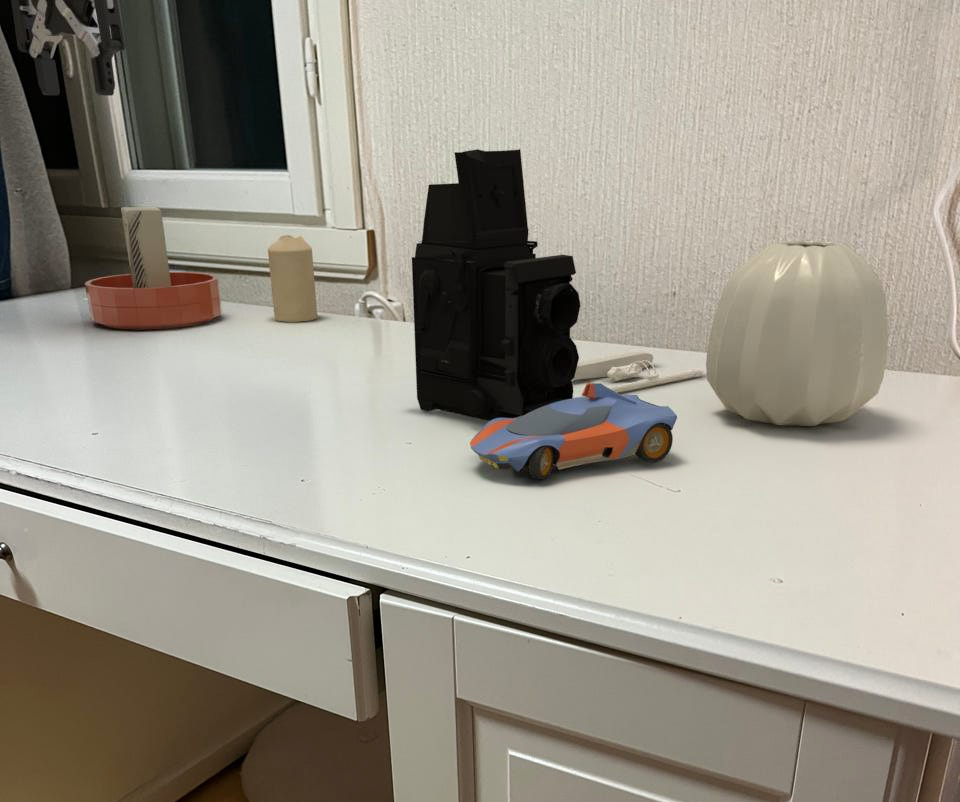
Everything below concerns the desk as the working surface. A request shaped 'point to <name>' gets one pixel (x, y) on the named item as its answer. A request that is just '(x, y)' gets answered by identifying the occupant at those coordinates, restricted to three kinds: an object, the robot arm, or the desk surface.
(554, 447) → the toy car
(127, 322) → the bowl
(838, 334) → the vase
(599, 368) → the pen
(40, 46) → the robot arm
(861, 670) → the desk surface
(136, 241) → the box
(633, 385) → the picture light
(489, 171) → the camera
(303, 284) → the candle
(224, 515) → the desk surface
